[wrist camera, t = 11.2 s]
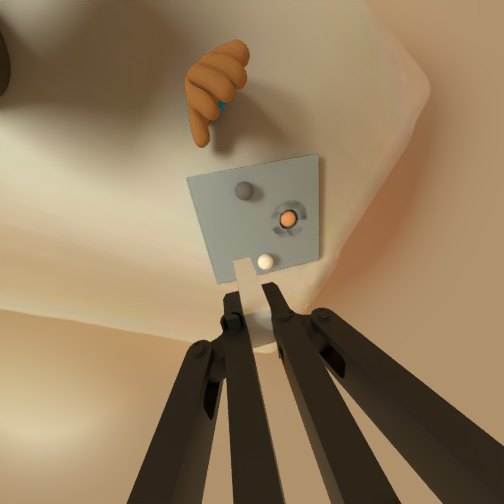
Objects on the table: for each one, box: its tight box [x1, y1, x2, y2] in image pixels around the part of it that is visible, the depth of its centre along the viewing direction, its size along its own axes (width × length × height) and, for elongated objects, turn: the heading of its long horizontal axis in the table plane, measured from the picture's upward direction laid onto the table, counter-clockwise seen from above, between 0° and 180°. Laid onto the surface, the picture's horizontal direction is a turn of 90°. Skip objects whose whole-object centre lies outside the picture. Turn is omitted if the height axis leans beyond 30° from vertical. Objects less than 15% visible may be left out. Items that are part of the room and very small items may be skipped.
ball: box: [280, 211, 296, 227], centre depth 41 cm, size 4×4×4 cm
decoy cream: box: [258, 254, 273, 270], centre depth 42 cm, size 4×4×4 cm
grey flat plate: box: [186, 154, 319, 284], centre depth 41 cm, size 26×24×2 cm
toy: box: [185, 40, 250, 148], centre depth 26 cm, size 12×7×15 cm, turn 136°
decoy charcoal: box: [235, 181, 254, 201], centre depth 35 cm, size 4×4×4 cm
